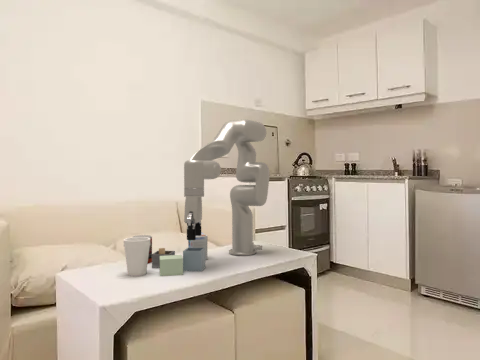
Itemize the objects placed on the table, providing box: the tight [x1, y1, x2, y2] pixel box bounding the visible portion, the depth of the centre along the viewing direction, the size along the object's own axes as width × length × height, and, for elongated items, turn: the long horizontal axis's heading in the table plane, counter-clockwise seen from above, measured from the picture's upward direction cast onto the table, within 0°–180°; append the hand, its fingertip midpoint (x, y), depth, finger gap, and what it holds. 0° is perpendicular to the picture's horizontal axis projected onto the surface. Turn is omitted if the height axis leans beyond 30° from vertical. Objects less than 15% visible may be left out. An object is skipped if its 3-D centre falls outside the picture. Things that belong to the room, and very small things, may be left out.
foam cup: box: [123, 236, 150, 277], centre depth 134 cm, size 10×9×13 cm
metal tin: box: [151, 250, 176, 269], centre depth 146 cm, size 7×7×6 cm
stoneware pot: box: [182, 246, 206, 272], centre depth 141 cm, size 7×7×8 cm
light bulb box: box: [187, 231, 209, 261], centre depth 160 cm, size 11×7×11 cm, turn 18°
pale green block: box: [159, 254, 184, 277], centre depth 135 cm, size 8×6×6 cm
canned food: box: [132, 234, 153, 264], centre depth 153 cm, size 8×8×11 cm
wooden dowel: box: [158, 247, 166, 254], centre depth 145 cm, size 2×2×7 cm
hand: (194, 237), depth 141 cm, fingers open, 9 cm apart
